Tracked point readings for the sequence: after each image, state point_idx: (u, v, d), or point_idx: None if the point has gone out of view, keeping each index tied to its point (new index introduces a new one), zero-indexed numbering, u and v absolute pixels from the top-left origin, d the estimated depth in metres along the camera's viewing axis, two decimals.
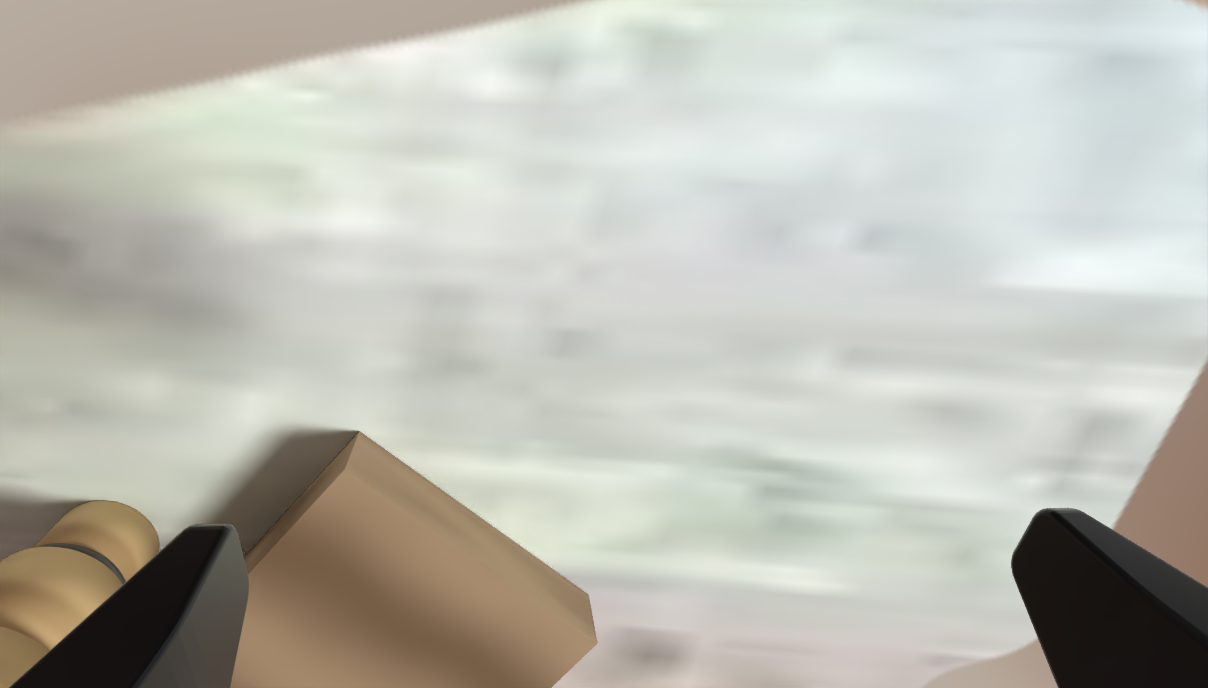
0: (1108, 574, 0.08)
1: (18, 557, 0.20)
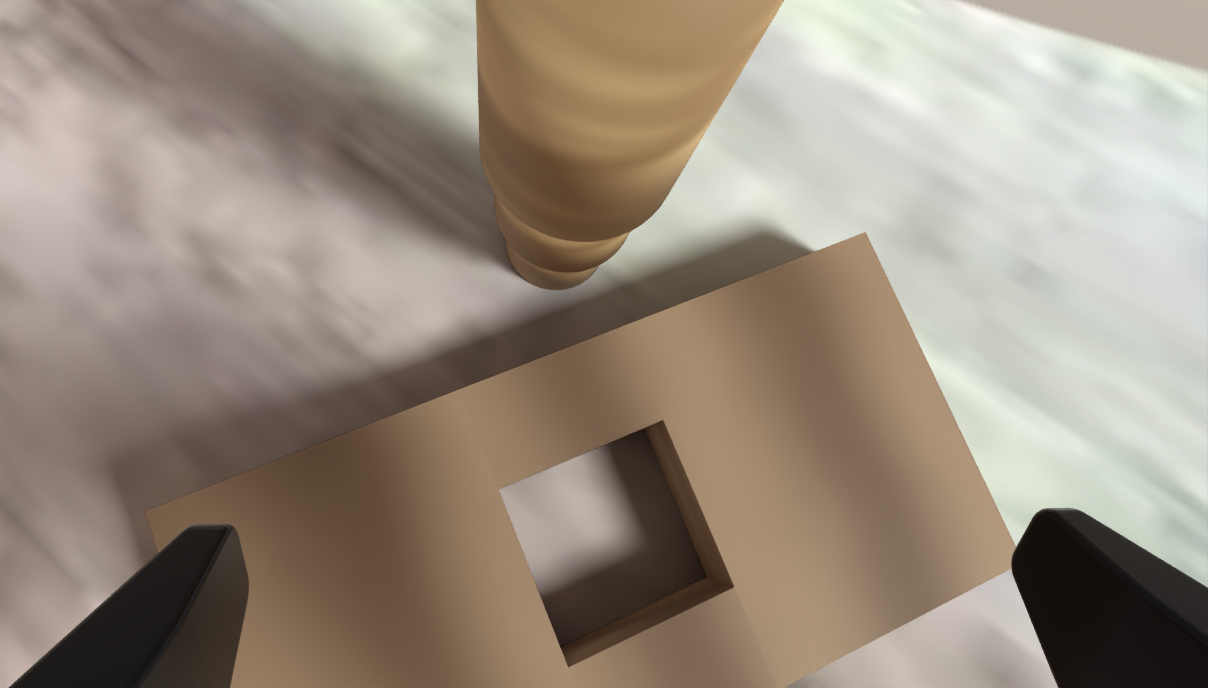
0: (1108, 574, 0.08)
1: None
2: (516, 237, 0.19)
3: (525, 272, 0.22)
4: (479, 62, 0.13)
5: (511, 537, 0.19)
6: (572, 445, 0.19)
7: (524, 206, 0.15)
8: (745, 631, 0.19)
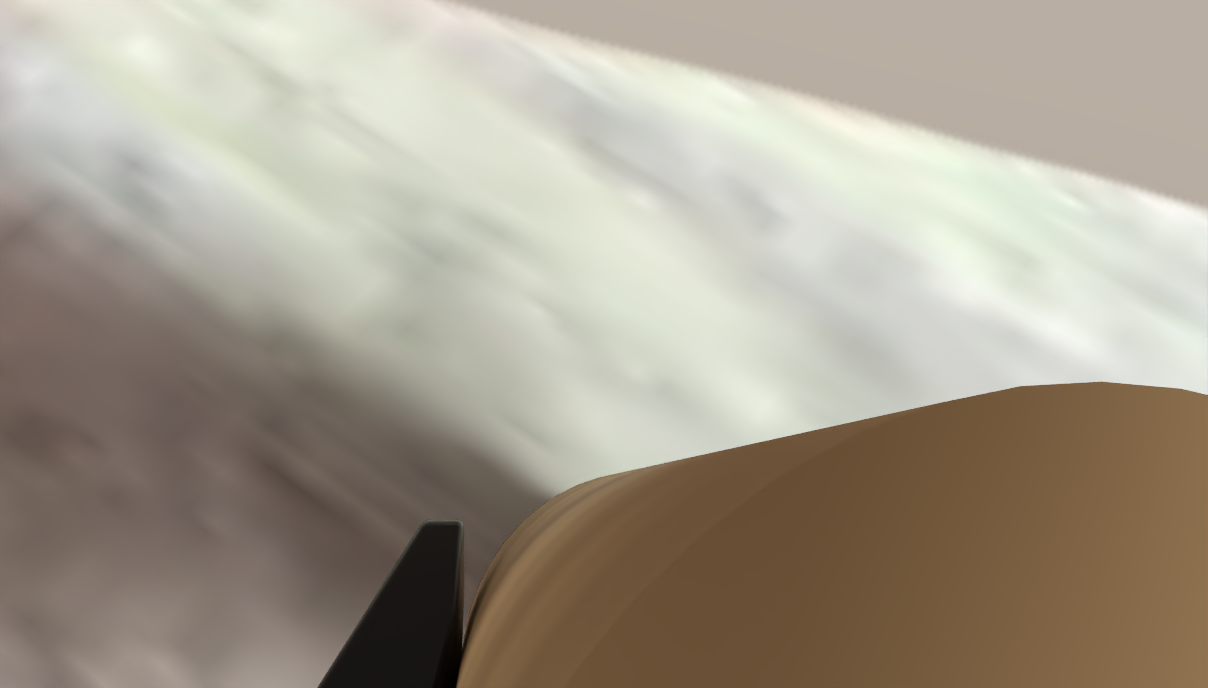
0: None
1: None
2: None
3: None
4: None
5: None
6: None
7: None
8: None
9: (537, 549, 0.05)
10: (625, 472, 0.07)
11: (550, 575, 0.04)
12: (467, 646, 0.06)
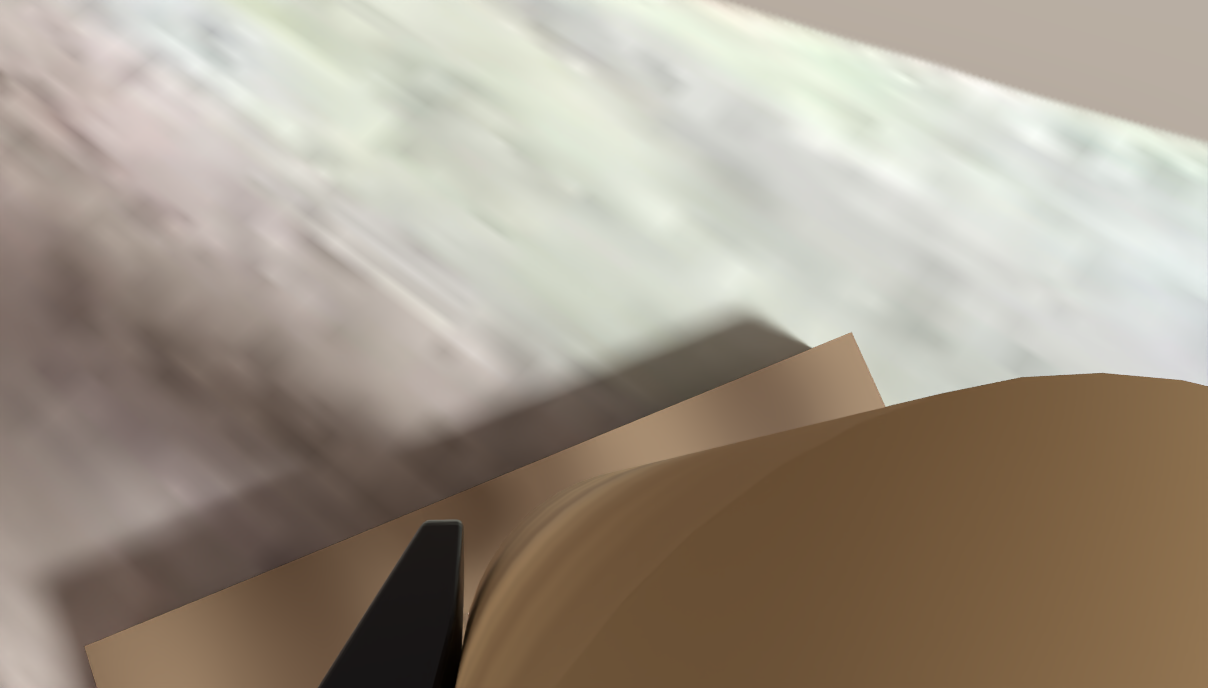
0: None
1: None
2: None
3: None
4: None
5: None
6: None
7: None
8: None
9: (537, 545, 0.05)
10: (625, 469, 0.07)
11: (550, 569, 0.04)
12: (467, 643, 0.06)
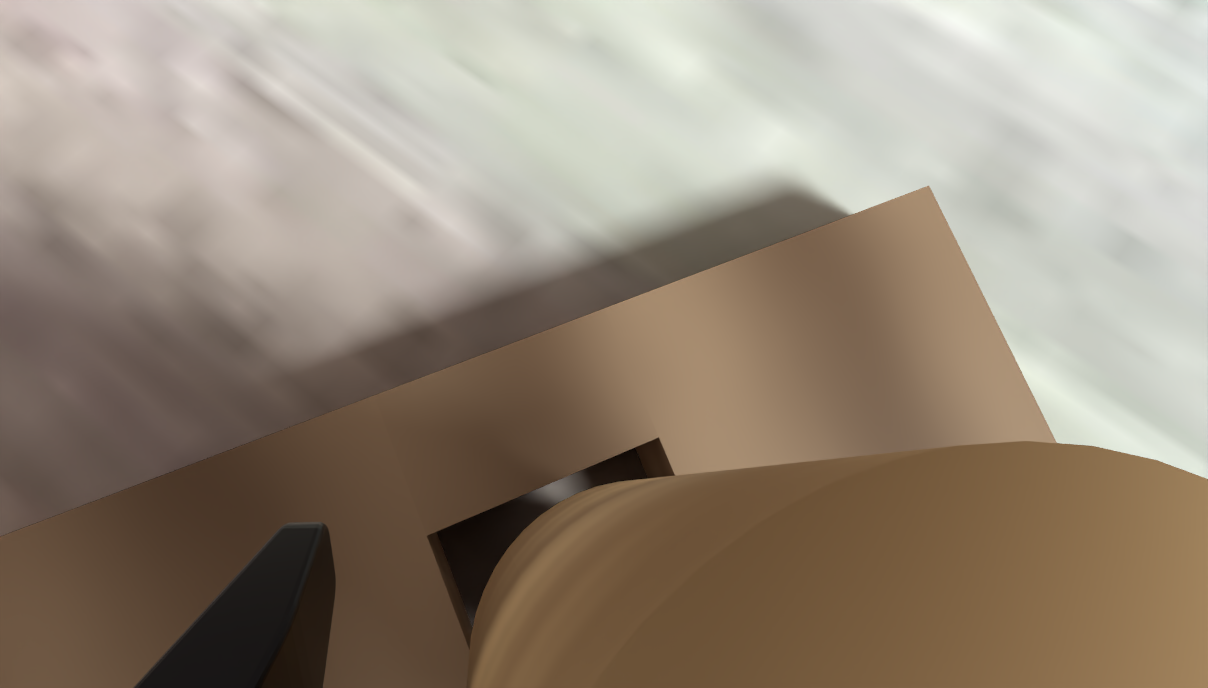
0: None
1: None
2: None
3: None
4: None
5: (443, 604, 0.13)
6: (532, 473, 0.14)
7: None
8: None
9: (545, 561, 0.06)
10: (624, 484, 0.08)
11: (562, 590, 0.04)
12: (479, 648, 0.07)
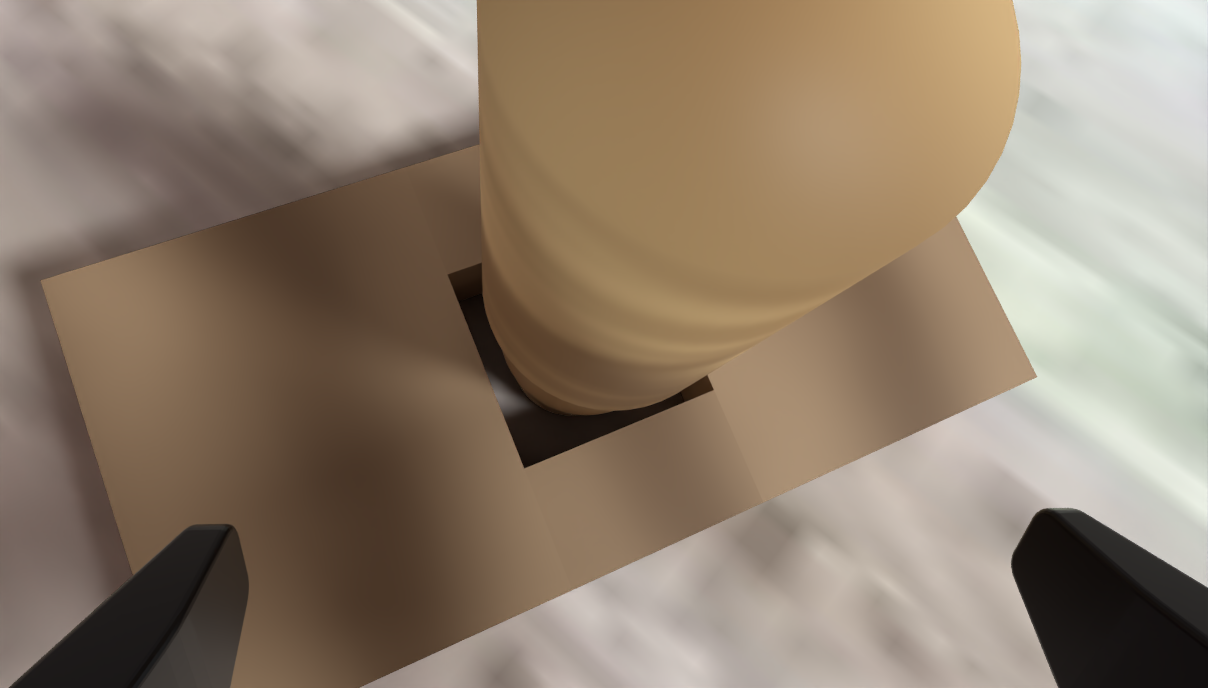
0: (1108, 574, 0.08)
1: None
2: (527, 381, 0.15)
3: (535, 399, 0.18)
4: (484, 222, 0.09)
5: (461, 326, 0.17)
6: None
7: (541, 376, 0.12)
8: (726, 437, 0.17)
9: None
10: None
11: None
12: None
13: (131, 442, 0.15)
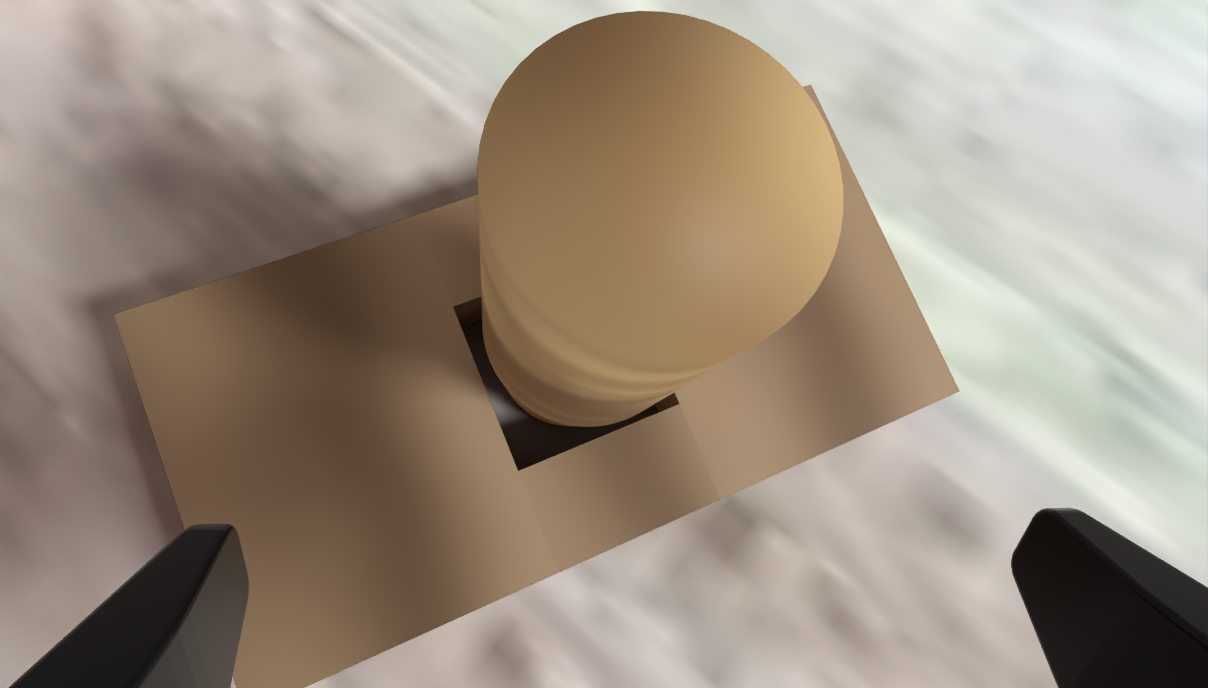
0: (1108, 574, 0.08)
1: None
2: None
3: None
4: (483, 292, 0.12)
5: (464, 350, 0.20)
6: None
7: (529, 401, 0.15)
8: (689, 444, 0.20)
9: None
10: None
11: None
12: None
13: (191, 450, 0.18)
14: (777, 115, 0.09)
